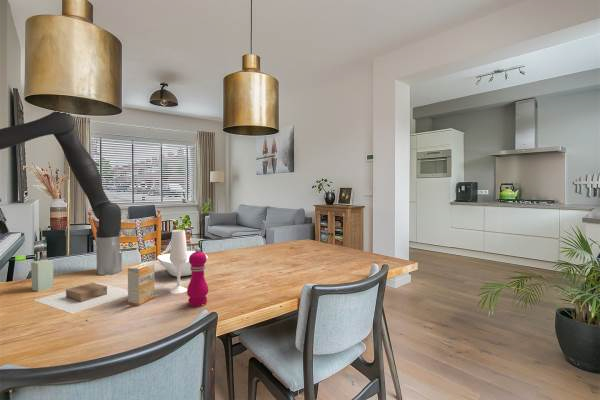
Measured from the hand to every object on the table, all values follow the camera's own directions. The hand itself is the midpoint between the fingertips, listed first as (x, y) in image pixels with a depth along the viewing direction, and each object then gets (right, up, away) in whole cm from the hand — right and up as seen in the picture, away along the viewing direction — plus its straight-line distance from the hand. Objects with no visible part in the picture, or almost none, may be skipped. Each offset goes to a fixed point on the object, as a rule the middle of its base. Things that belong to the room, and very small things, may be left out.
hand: (1, 233), depth 114 cm
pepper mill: (+75, -25, -5) cm, 79 cm away
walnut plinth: (+34, -22, -3) cm, 41 cm away
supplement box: (+54, -24, -4) cm, 60 cm away
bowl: (+56, -23, +29) cm, 68 cm away
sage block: (+10, -23, +7) cm, 26 cm away
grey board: (+34, -23, -3) cm, 41 cm away
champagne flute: (+63, -24, +7) cm, 68 cm away
